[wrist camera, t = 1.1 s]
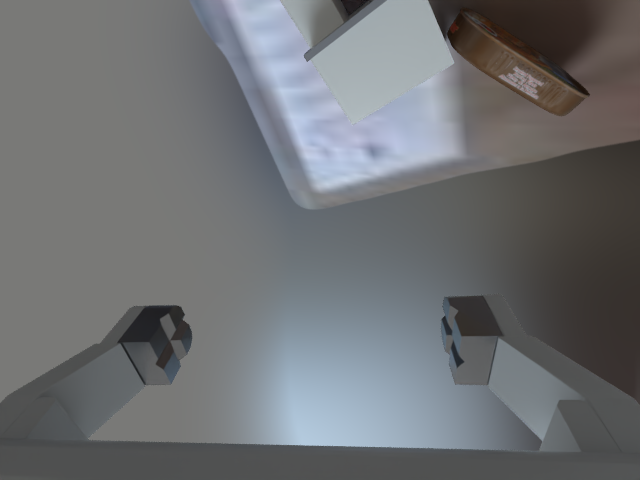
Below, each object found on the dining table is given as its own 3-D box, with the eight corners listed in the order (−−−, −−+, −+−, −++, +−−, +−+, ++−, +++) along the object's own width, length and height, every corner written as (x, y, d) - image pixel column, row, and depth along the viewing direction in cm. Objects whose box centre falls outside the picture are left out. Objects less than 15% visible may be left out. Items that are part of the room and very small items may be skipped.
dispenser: (368, -134, 28) (364, -153, 22) (444, 44, 36) (456, 66, 30) (272, -37, 34) (247, -30, 28) (356, 101, 41) (351, 129, 35)
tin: (571, 74, 36) (610, 102, 30) (546, 100, 38) (577, 132, 32) (457, -2, 33) (473, 12, 27) (436, 31, 35) (447, 51, 29)
